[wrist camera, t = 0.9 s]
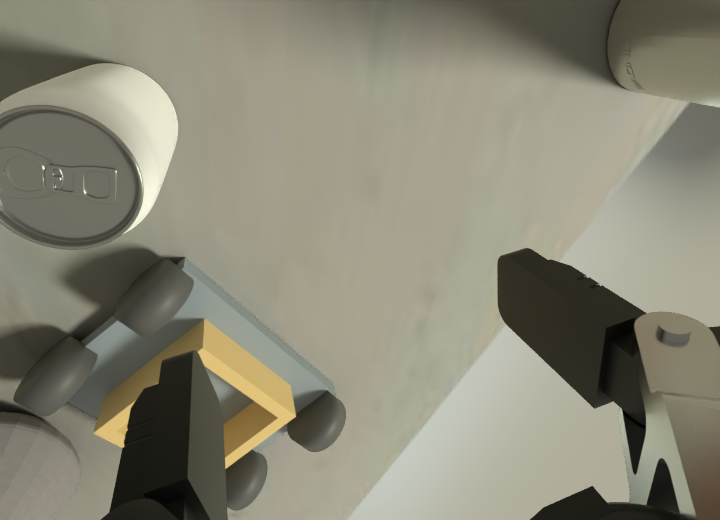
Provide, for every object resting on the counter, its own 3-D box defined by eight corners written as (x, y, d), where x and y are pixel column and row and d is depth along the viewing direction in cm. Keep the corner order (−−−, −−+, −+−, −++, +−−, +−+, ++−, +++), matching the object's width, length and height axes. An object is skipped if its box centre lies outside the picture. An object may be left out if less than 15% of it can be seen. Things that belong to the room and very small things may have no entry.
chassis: (174, 248, 31) (167, 284, 27) (338, 388, 42) (351, 429, 38) (30, 364, 33) (1, 416, 28) (225, 472, 43) (225, 521, 39)
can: (57, 48, 24) (-61, 71, 14) (183, 76, 27) (160, 113, 16) (61, 163, 27) (-36, 251, 17) (175, 179, 29) (151, 266, 19)
